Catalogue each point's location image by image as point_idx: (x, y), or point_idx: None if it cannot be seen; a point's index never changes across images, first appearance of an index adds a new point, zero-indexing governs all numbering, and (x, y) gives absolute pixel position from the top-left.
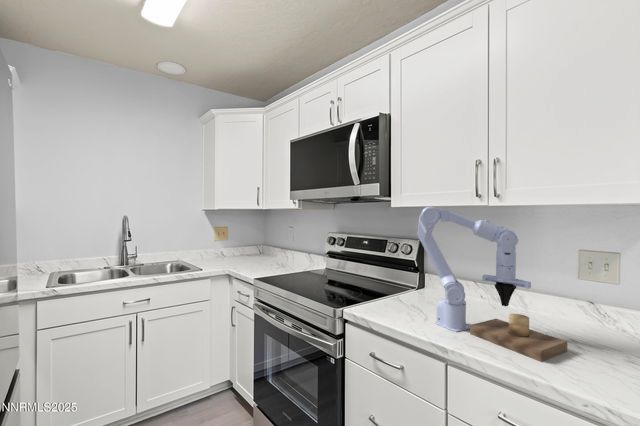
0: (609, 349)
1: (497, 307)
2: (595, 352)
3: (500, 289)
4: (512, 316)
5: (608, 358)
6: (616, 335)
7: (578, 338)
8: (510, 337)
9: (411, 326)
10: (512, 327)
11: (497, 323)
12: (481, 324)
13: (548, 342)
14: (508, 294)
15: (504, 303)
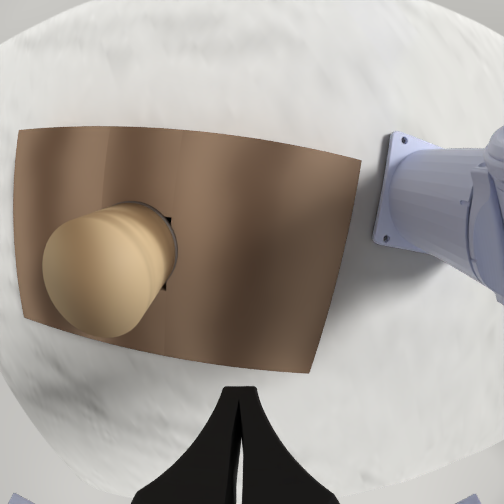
0: (36, 395)
1: (358, 483)
2: (29, 355)
3: (259, 487)
4: (108, 242)
5: (4, 335)
6: (91, 474)
7: (99, 427)
8: (131, 155)
9: (496, 79)
10: (127, 209)
11: (273, 312)
12: (324, 221)
13: (33, 246)
14: (179, 458)
15: (230, 397)
